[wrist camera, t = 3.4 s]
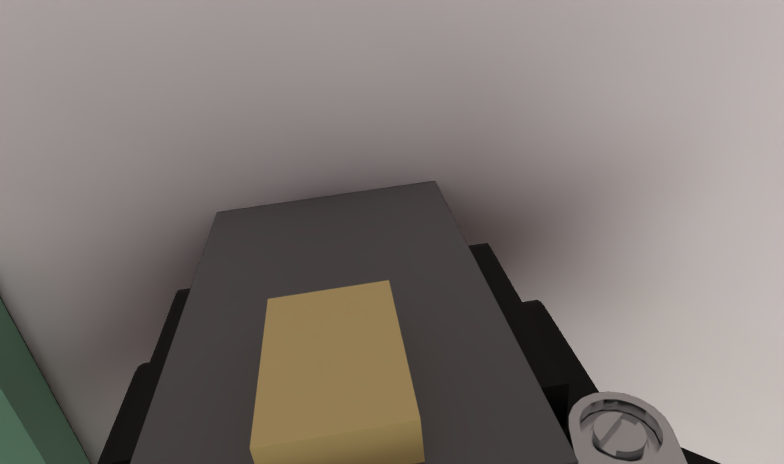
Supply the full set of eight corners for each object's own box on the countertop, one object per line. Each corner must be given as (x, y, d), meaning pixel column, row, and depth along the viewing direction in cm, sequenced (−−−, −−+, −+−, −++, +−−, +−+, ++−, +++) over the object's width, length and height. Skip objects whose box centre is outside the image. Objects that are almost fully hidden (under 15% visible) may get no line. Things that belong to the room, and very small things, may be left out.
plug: (445, 346, 14) (560, 696, 7) (263, 377, 13) (220, 767, 7) (433, 154, 11) (589, 429, 5) (209, 185, 11) (68, 523, 5)
